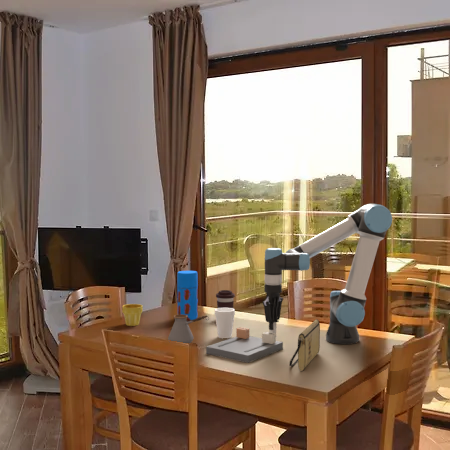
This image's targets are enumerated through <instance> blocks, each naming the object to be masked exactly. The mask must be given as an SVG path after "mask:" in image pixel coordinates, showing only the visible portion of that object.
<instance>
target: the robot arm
mask: <svg viewBox="0 0 450 450" xmlns="http://www.w3.org/2000/svg"><path fill="white" fill-rule="evenodd" d="M392 222H393V215H392V212H391V211H390V210H389V208H387V207H386V206H384V205H382V204H377V203H367V204H364V205H363V206H360V207H359V208H358V209H357V210H355V211H353V212H352V213H350V214H348V215H347V218H346V219H344V220H342V221H341V222H338V223H337V224H335V225H333V226H332V227H330V228H327V229H326V230H324V231H323V232H321V233H319V234H317V235H315V236H314V237H312V238H310V239H308V240H306V241H303V243H301V244H299V245H298V246H296V247H293V248H290V249H288V250H287V251H286V252H283V249H282V248H279V247H270V248H269V247H268V248H267V249H265V251H264V292H265V294H266V297H265V300H263V301H262V305H263V310H264V317H265V322H267V323H268V330H269V331H268V332H270V333H275V334H276V335H277V323H279V320H280V319H281V311H282V303H283V301H284V298H283V297H281V295H280V294H281V293H283V292H282V291H283V290H282V289H283V288H282V287H283V286H282V283H283V277H282V276H283V273H282V272H283V271H300V272H301V271H309V269H310V265H311V258H313V257H315V256H317V255H318V254H320V253H322V252H325V251H326V250H327V249H329V248H331V247H333V246H334V245H336V244H338V243H340V242H342V241H344V240H345V239H347V238H349V237H351V236H352V235H355V234H357V235H359V238H358V242H357V245H356V249H355V253H354V256H353V259H352V262H351V266H350V270H349V273H348V277H347V280H346V283H345V288H344V289H341V290H332V291H331V292H330V296H329V324H328V328H327V331H326V334H325V340H326V341H327V342H329V343H332V344H336V345H337V344H338V345H352V344H351V343H354V344H357V343H356V342H358V341H359V342H360V334H359V332H358V328H357V326H358V325H360V324H361V323H362V322H363V321H364V318H365V315H366V311H365V306H366V302H367V297H366V295H365V293H366V289H367V287H368V286H367V285H368V283H369V279H370V275H371V273H372V268H373V265H374V262H375V258H376V255H377V251H378V249H379V244H380V242H381V241H382V240H384V239H385V238H386V234H387V231H388V229H390V227H391V226H392ZM359 342H358V343H359Z"/></svg>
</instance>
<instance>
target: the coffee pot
mask: <svg viewBox="0 0 450 450" xmlns="http://www.w3.org/2000/svg"><path fill="white" fill-rule="evenodd" d="M187 317H188V316H187V315H178V314H174V315H173V318H174V323H173V325H172V327H171V330H170V332H169V335H168V338H167V340H168V341H169V340H171V341H177V342H183V343H189V344H191V343H192V342H193V340H194V335H193V332H192V330H191V328H190V326H189V324H192V323H196V322H198V321H201V320H204V319H205V320H206V321H209V320H210V318H209V315H202V316H200V317H199V316H198V317H197V318H196V319H194V320H186V319H187ZM207 318H208V319H207Z"/></svg>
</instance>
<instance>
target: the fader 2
mask: <svg viewBox="0 0 450 450" xmlns="http://www.w3.org/2000/svg"><path fill="white" fill-rule="evenodd" d="M261 338H262V342H264V343H269V344H273V343H276V341H277V340H276V339H277V333H276V334H275V333H270V332H269V331H264V332H262V333H261Z"/></svg>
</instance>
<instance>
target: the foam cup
mask: <svg viewBox="0 0 450 450" xmlns="http://www.w3.org/2000/svg"><path fill="white" fill-rule="evenodd" d="M235 310H236V309H235V308H234V307H233V308H215V309H214V317H215V323H216V331H217V337H218V338H219V339H223V338H227V339H230V338H233V337H232V336H233V327H234V320H235V315H236V311H235Z"/></svg>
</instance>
